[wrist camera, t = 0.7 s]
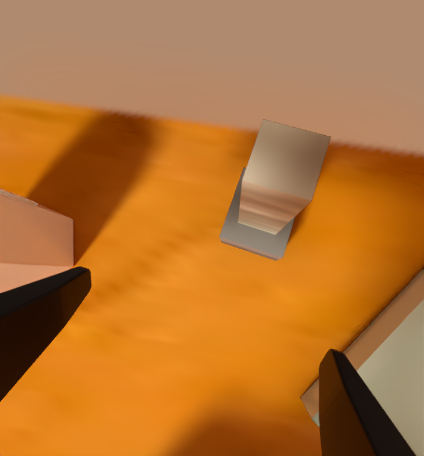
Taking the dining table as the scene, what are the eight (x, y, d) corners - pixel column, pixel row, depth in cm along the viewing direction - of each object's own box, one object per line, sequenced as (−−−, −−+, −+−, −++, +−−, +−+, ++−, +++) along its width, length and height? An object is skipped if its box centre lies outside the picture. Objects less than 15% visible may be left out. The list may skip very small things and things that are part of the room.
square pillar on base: (275, 260, 22) (326, 242, 10) (221, 242, 23) (208, 204, 11) (294, 198, 23) (362, 112, 11) (242, 182, 24) (251, 85, 12)
